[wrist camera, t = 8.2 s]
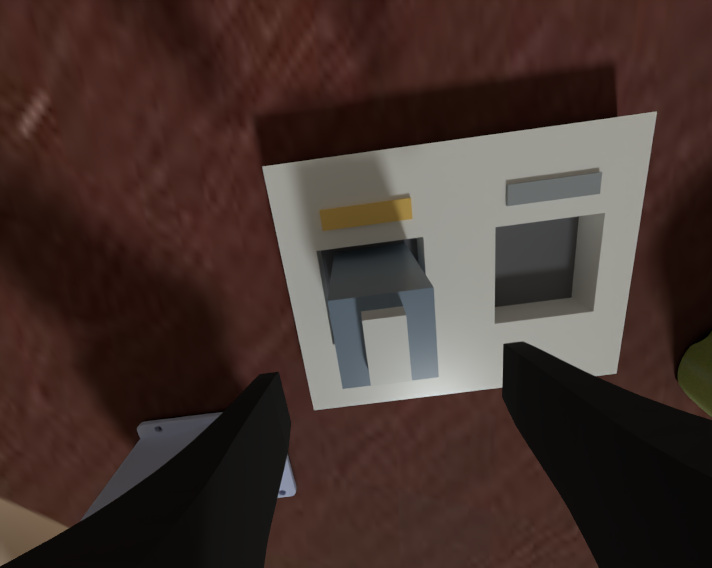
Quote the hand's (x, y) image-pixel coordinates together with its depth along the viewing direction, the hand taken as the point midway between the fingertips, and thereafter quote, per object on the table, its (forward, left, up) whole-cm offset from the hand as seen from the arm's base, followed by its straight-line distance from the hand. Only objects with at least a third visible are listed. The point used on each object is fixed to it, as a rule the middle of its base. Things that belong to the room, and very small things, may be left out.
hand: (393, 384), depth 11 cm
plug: (0, 0, -10) cm, 10 cm away
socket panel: (+5, 0, -10) cm, 11 cm away
